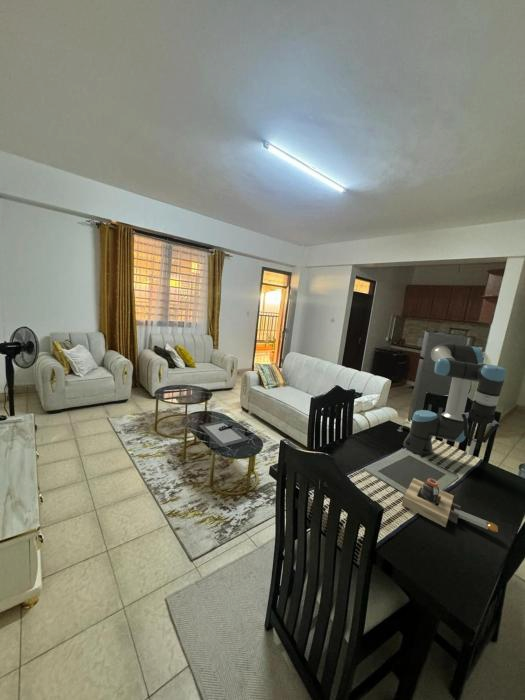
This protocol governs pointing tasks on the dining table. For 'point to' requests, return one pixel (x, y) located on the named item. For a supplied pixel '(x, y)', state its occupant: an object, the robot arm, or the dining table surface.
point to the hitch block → (428, 509)
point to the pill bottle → (430, 491)
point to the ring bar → (477, 521)
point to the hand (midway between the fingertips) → (470, 453)
